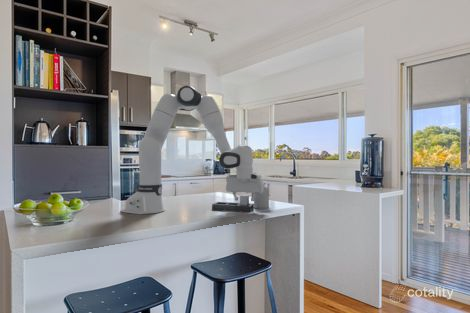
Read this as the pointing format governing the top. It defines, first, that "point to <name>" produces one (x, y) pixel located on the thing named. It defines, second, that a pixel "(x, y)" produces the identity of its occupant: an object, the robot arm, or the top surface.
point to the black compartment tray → (232, 206)
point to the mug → (262, 199)
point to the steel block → (244, 200)
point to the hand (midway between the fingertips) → (244, 200)
